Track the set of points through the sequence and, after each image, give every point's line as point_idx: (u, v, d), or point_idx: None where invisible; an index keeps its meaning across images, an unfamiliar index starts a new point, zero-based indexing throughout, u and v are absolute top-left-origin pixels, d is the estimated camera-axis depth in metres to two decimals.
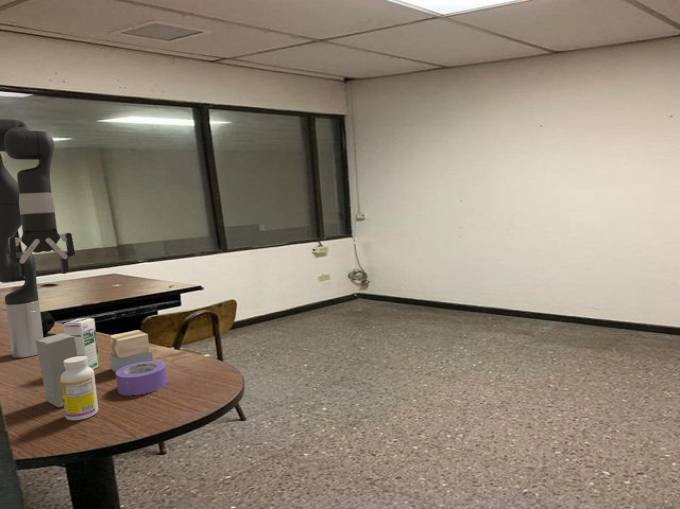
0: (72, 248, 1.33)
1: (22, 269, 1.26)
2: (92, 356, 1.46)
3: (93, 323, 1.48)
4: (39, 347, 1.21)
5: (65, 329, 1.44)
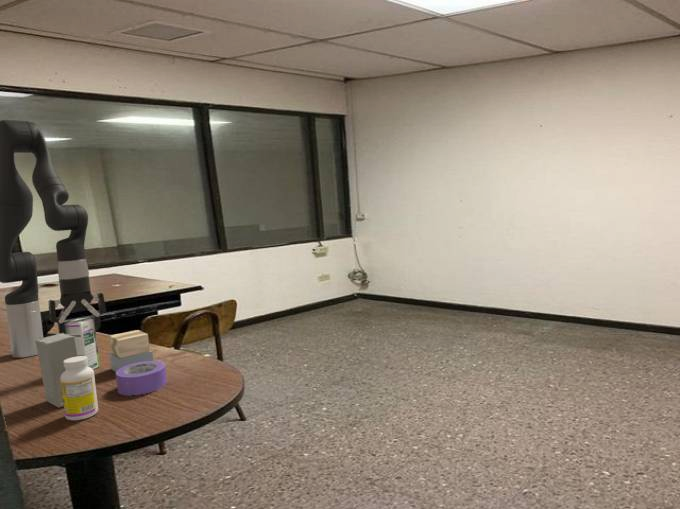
0: (104, 306, 1.49)
1: (61, 328, 1.42)
2: (92, 356, 1.46)
3: (93, 323, 1.48)
4: (39, 347, 1.20)
5: (65, 329, 1.44)
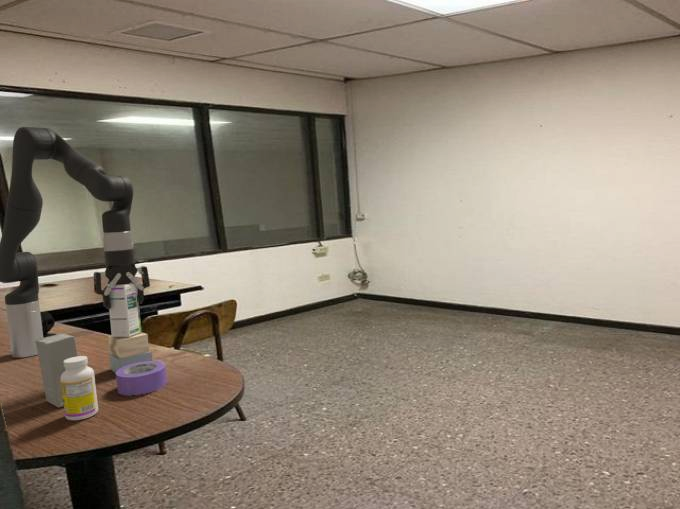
0: (147, 280, 1.46)
1: (106, 300, 1.40)
2: (134, 320, 1.44)
3: (136, 287, 1.45)
4: (39, 347, 1.21)
5: None
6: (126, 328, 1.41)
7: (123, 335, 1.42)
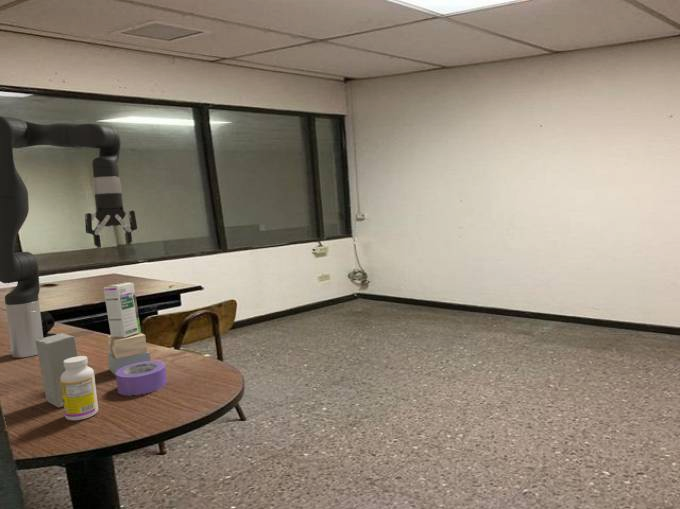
0: (135, 223, 1.59)
1: (96, 240, 1.53)
2: (131, 320, 1.43)
3: (132, 287, 1.44)
4: (39, 347, 1.20)
5: (104, 293, 1.42)
6: (122, 329, 1.41)
7: (120, 335, 1.41)
